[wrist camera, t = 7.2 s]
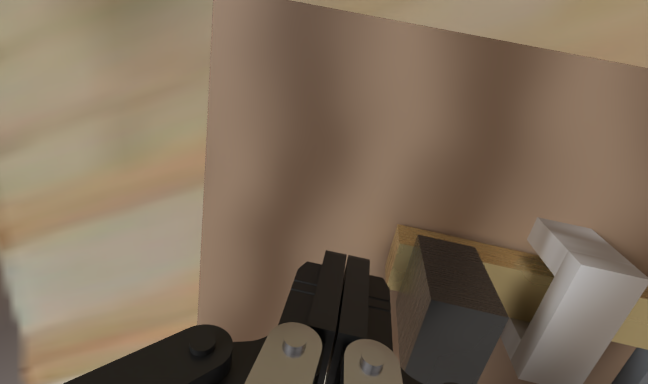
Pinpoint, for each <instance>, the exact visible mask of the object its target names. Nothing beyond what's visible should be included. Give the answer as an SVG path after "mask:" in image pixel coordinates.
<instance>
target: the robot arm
mask: <svg viewBox="0 0 648 384" xmlns="http://www.w3.org/2000/svg"><path fill="white" fill-rule="evenodd" d="M346 257H347V254H342V253H337V252H333V251H328V250H326V251H325V255H324V259H323V263H322V264H317V263H313V262H308V261H307V262H306V263H305V264H303V265H302V266H301V267H300V268H298V270H297V273H296V276H295V279H294V281H293V284H292V287H291V290H290V293H289V295H288V298H287V301H286V304H285V307H284V310H283V312H282V315H281V318H280V321H279V324H278V326H276V327H275V328H273V329H272V330H271V331H270V333H269V334H268V336H266V337H264V338H261V339H258V340H254V341H241V342H233V341H232V338H231V336H230V334H229V333H228V332H227V331H226V330H224V329H223V328H221V327H219V326H215V325H209V324H203V325H197V326H193V327H190V328H188V329H185V330H183V331H181V332H179V333H176V334H174V335H172V336H170V337H167V338H165V339H163V340H161V341H158V342H156V343H154V344H152V345H149V346H147V347H145V348H142V349H140V350H138V351H136V352H133V353H131V354H129V355H127V356H124V357H122V358H120V359H118V360H115V361H113V362H111V363H109V364H106V365H104V366H102V367H100V368H97V369H95V370H93V371H91V372H88V373H86V374H84V375H82V376H79V377H77V378H75V379H73V380H70V381H68V382H66V383H64V384H324V380H325V375H326V381H325V384H422V383H421V382H419V381H417V380H415V379H414V378H412V377H411V376H409V375H408V374H407V373H406V372H405V371H404V370H403V369H402V368H401V367H400V364H399V361H398V358H397V357H396V355H395V354H394V353H393V342H392V323H391V303H390V289H389V287H388V285H387V284H386V282H385V280H384V279H383V278H382V277H377V276H372V275H369V274H370V259H366V258H361V257H356V256H352V255H348V258H347V263H346ZM345 264H346V267H345ZM344 271H345V272H344ZM327 367H328V368H327ZM326 371H327V374H326ZM443 384H459V383H453V382H448V383H443Z"/></svg>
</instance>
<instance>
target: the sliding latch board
mask: <svg viewBox="0 0 648 384" xmlns="http://www.w3.org/2000/svg"><path fill="white" fill-rule="evenodd" d="M397 224H400V225H404V226H409V227H413V228H418V229H422V230H427V231H431V232H436V233H440V234H445V235H449V236H454V237H458V238H463V239H467V240H472V241H476V242H481V243H485V244H490V245H494V246H499V247H503V248H507V249H512V250H516V251H521V252H525V253H530V254H534V255H539V256H540V258H541V259H542V260H543V262H544V263H545V264H546V266H547V267H548V268H549V270H550V271H551V272H552V274H553V275H554V276H555V277H554V278H553V280H552V282H551V284H550V286H549V288H548V290H547V292H546V294H545V296H544V297H543V299H542V301H541V303H540V305H539V307H538V309H537V311H536V313H535V315H534V316H533V318H532V320H531V322H527V321H523V320H518V319H514V318H510V317H509V319H508V321H507V323H506V325H505V327H504V329H503V332H502V334H501V336H500V338H499V340H498V342H497V344H496V346H495V348H494V350H493V352H492V354H491V356H490V358H489V360H488V362H487V364H486V366H485V368H484V370H483V372H482V374H481V376H480V378H479V380H478V382H477V384H648V350H647V349H642V348H638V347H634V346H629V345H625V344H621V343H617V342H612V339H613V338H614V336H615V334H616V333H617V331H618V330H619V328H620V327H621V325H622V324H623V322H624V321H625V319H626V318H627V316H628V315H629V313H630V312H631V310H632V309H633V307H634V306H635V304H636V303H637V301H638V300H639V298H640V297H641V295H642V294H643V292H644V291H645V289H646V287H647V286H648V68H643V67H638V66H633V65H628V64H622V63H617V62H612V61H607V60H601V59H596V58H591V57H585V56H580V55H575V54H570V53H564V52H559V51H554V50H549V49H543V48H538V47H533V46H527V45H522V44H517V43H512V42H506V41H501V40H496V39H491V38H485V37H480V36H475V35H469V34H464V33H459V32H454V31H448V30H443V29H438V28H433V27H427V26H422V25H417V24H411V23H406V22H401V21H396V20H390V19H385V18H380V17H375V16H369V15H364V14H359V13H353V12H348V11H343V10H338V9H332V8H327V7H322V6H316V5H311V4H306V3H301V2H295V1H290V0H213V15H212V36H211V56H210V77H209V97H208V117H207V138H206V158H205V178H204V199H203V219H202V240H201V260H200V280H199V301H198V321H197V325H203V324H209V325H215V326H219V327H221V328H223V329H224V330H226V331H227V332H228V333H229V334H230V336H231V338H232V341H233V342H241V341H254V340H258V339H261V338H264V337H266V336H268V334H269V333H270V331H271V330H272V329H273V328H275V327H276V326H278V324H279V321H280V318H281V315H282V312H283V310H284V307H285V304H286V301H287V298H288V295H289V293H290V290H291V287H292V284H293V281H294V279H295V276H296V273H297V270H298V268H300V267H301V266H302V265H303V264H305V263H306V262H307V261H308V262H313V263H317V264H322V263H323V259H324V255H325V251H326V250H328V251H333V252H337V253H342V254H347V257H346V263H347V258H348V255H352V256H356V257H361V258H366V259H370V274H369V275H372V276H377V277H382V278H383V279H384V280H385V282H386V277H385V265H386V261H387V258H388V255H389V251H390V248H391V244H392V241H393V238H394V234H395V231H396V227H397ZM345 267H346V264H345ZM344 272H345V271H344ZM398 293H399V291H394V290H390V303H391V323H392V342H393V353H394V354H395V355H396V357H397V358H398V361H399V364H400V358H399V344H398V329H397V314H396V299H397V296H398ZM327 368H328V367H327ZM326 372H327V371H326Z"/></svg>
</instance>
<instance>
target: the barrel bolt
mask: <svg viewBox="0 0 648 384" xmlns="http://www.w3.org/2000/svg"><path fill="white" fill-rule="evenodd" d="M385 277H386V284H387V285H388V287H389V289H390V290H394V291H399V293H398V296H397V299H396V314H397V329H398V344H399V358H400V367H401V368H402V369H403V370H404V371H405V372H406V373H407V374H408V375H409V376H411V377H412V378H414V379H415V380H417V381H419V382H421V383H422V384H443V383H448V382H453V383H459V384H477V382H478V380H479V378H480V376H481V374H482V372H483V370H484V368H485V366H486V364H487V362H488V360H489V358H490V356H491V354H492V352H493V350H494V348H495V346H496V344H497V342H498V340H499V338H500V336H501V334H502V332H503V329H504V327H505V325H506V323H507V321H508V319H509V317H510V318H514V319H518V320H523V321H527V322H531V320H532V318H533V316H534V315H535V313H536V311H537V309H538V307H539V305H540V303H541V301H542V299H543V297H544V296H545V294H546V292H547V290H548V288H549V286H550V284H551V282H552V280H553V278H554V277H555V276H554V275H553V274H552V272H551V271H550V270H549V268H548V267H547V266H546V264H545V263H544V262H543V260H542V259H541V258H540V256H539V255H534V254H530V253H525V252H521V251H516V250H512V249H507V248H503V247H499V246H494V245H490V244H485V243H481V242H476V241H472V240H467V239H463V238H458V237H454V236H449V235H445V234H440V233H436V232H431V231H427V230H422V229H418V228H413V227H409V226H404V225H400V224H397V227H396V231H395V234H394V238H393V241H392V244H391V248H390V251H389V255H388V258H387V261H386V265H385ZM612 342H617V343H621V344H625V345H629V346H634V347H638V348H642V349H647V350H648V286H647V287H646V289H645V291H644V292H643V294H642V295H641V297H640V298H639V300H638V301H637V303H636V304H635V306H634V307H633V309H632V310H631V312H630V313H629V315H628V316H627V318H626V319H625V321H624V322H623V324H622V325H621V327H620V328H619V330H618V331H617V333H616V334H615V336H614V338H613V339H612Z"/></svg>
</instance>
